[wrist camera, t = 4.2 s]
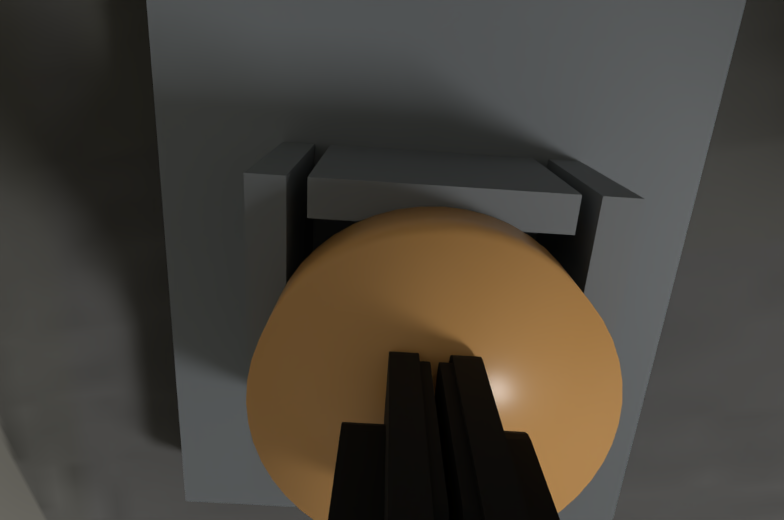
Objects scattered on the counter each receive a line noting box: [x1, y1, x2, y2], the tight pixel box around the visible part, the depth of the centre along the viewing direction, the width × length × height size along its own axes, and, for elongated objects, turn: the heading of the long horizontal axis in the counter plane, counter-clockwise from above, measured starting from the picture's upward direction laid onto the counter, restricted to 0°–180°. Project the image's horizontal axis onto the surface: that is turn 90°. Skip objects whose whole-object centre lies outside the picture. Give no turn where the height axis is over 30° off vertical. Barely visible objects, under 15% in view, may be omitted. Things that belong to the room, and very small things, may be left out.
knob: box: [246, 207, 622, 520], centre depth 13 cm, size 7×7×6 cm
